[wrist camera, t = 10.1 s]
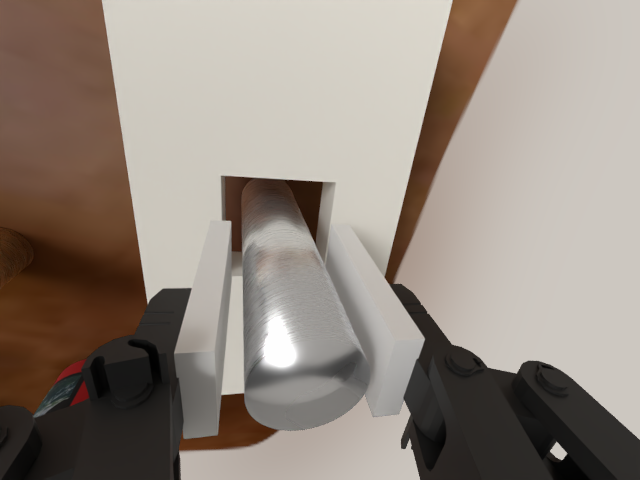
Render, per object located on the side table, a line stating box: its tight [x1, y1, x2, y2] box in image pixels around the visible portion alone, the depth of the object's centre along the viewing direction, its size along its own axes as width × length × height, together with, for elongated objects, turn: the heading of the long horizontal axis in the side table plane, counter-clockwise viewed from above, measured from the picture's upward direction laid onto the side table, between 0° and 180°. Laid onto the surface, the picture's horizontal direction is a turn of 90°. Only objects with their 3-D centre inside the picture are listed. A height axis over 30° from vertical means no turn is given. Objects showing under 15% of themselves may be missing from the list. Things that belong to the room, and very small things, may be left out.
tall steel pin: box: [241, 178, 371, 431], centre depth 13 cm, size 3×3×13 cm
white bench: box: [102, 0, 453, 395], centre depth 18 cm, size 12×22×7 cm, turn 173°
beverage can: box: [33, 359, 89, 418], centre depth 20 cm, size 7×7×12 cm
